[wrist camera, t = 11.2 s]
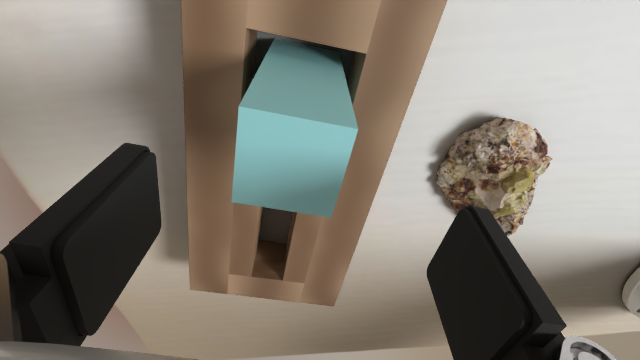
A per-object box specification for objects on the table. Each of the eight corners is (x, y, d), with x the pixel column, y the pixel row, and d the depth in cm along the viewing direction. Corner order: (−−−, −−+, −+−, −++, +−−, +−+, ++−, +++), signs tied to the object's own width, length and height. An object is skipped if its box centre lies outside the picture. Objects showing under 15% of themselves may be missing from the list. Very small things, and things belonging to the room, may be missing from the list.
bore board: (426, -17, 18) (451, -12, 15) (331, 269, 31) (333, 306, 28) (205, -72, 17) (178, -80, 13) (203, 252, 30) (189, 289, 26)
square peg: (339, 52, 20) (358, 129, 11) (325, 112, 22) (331, 217, 13) (274, 38, 20) (238, 106, 10) (266, 100, 22) (231, 202, 13)
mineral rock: (428, 148, 22) (575, 129, 19) (428, 116, 25) (553, 95, 22) (445, 251, 28) (558, 249, 25) (443, 214, 31) (543, 209, 28)
